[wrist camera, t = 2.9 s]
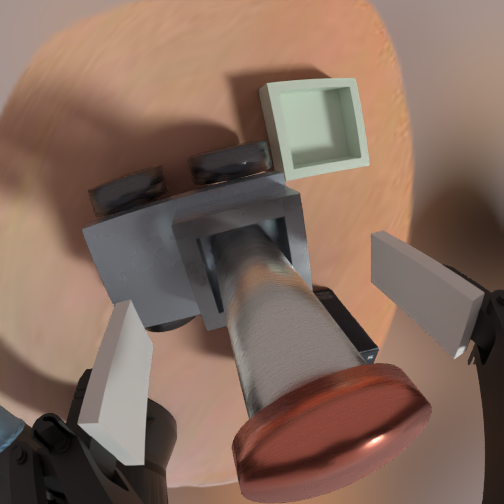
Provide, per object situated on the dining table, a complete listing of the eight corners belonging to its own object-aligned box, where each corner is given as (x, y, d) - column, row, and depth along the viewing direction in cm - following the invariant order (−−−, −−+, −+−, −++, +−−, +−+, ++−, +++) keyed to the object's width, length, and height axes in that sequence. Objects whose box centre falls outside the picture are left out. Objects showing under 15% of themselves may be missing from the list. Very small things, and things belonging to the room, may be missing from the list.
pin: (213, 289, 18) (261, 512, 5) (193, 221, 16) (210, 464, 3) (283, 270, 19) (407, 456, 6) (270, 201, 17) (456, 363, 4)
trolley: (144, 300, 26) (127, 380, 16) (102, 183, 21) (43, 214, 11) (280, 264, 28) (326, 329, 18) (257, 140, 23) (304, 138, 13)
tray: (275, 176, 24) (286, 181, 21) (258, 90, 21) (266, 83, 18) (352, 162, 25) (369, 165, 22) (339, 83, 22) (355, 78, 19)
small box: (276, 292, 29) (314, 360, 19) (332, 287, 30) (383, 345, 20) (269, 365, 33) (294, 432, 23) (317, 357, 34) (352, 417, 24)
